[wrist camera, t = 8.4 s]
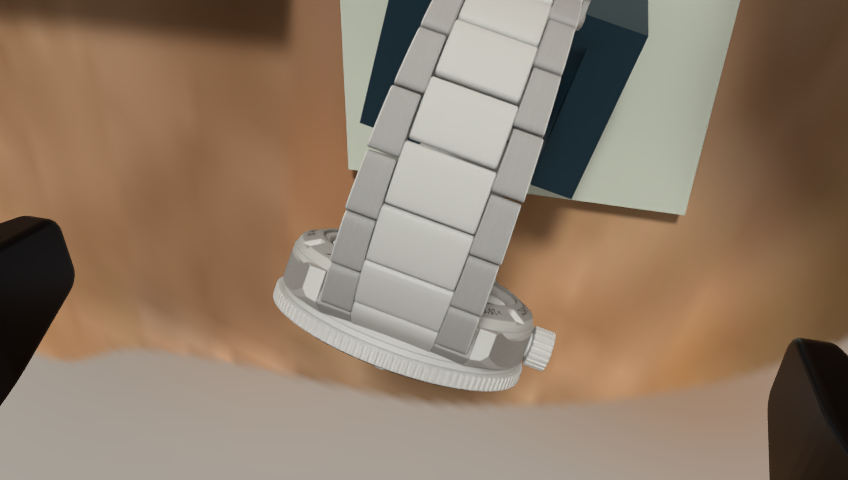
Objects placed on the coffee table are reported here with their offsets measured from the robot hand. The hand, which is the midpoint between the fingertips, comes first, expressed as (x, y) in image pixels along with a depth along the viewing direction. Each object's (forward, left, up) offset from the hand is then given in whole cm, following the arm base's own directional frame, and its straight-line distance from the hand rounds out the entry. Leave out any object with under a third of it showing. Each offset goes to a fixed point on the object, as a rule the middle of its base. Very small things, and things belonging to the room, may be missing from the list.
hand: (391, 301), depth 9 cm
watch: (0, +1, -12) cm, 13 cm away
